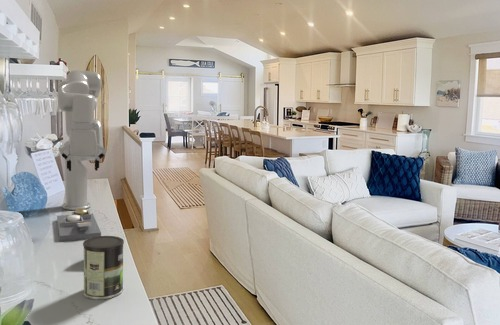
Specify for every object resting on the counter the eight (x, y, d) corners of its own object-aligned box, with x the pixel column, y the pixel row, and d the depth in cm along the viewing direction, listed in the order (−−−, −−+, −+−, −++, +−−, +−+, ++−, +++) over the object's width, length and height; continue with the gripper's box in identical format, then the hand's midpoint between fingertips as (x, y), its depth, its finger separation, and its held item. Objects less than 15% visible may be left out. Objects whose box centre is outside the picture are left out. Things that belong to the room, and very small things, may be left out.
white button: (67, 219, 167) (67, 215, 167) (79, 218, 169) (79, 214, 169) (67, 222, 163) (67, 218, 163) (80, 221, 165) (80, 217, 165)
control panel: (57, 220, 176) (57, 211, 176) (92, 218, 183) (92, 209, 182) (59, 241, 152) (59, 231, 151) (101, 237, 158) (101, 227, 157)
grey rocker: (76, 225, 162) (76, 223, 163) (89, 224, 164) (88, 222, 164) (78, 226, 154) (78, 223, 154) (91, 225, 156) (91, 222, 156)
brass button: (74, 212, 177) (74, 209, 176) (86, 212, 179) (86, 208, 178) (75, 215, 173) (75, 211, 172) (87, 214, 175) (87, 211, 174)
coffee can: (123, 282, 121) (123, 234, 119) (123, 298, 112) (123, 246, 110) (84, 284, 118) (84, 236, 116) (81, 301, 109) (81, 248, 107)
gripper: (105, 126, 170) (104, 168, 173) (58, 125, 162) (58, 169, 165) (108, 128, 164) (107, 171, 166) (59, 126, 156) (59, 172, 158)
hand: (83, 170), depth 165 cm, fingers open, 9 cm apart
